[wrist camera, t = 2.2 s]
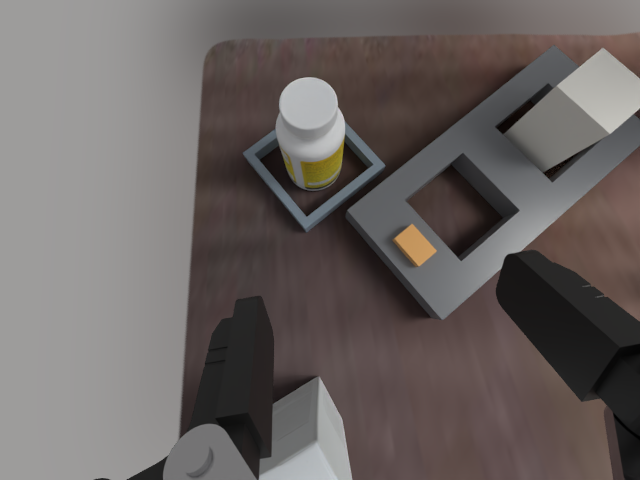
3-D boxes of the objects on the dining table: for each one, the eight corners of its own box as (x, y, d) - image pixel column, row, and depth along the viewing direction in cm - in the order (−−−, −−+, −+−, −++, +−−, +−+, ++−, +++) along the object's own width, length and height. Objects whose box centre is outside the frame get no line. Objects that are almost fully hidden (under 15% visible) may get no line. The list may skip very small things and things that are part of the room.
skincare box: (283, 459, 25) (243, 608, 13) (259, 411, 25) (200, 510, 14) (345, 419, 25) (362, 528, 13) (320, 373, 26) (315, 437, 14)
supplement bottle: (351, 156, 30) (363, 89, 20) (324, 201, 29) (323, 154, 19) (304, 132, 30) (294, 55, 21) (276, 176, 29) (252, 117, 20)
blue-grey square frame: (321, 104, 31) (320, 95, 29) (382, 172, 29) (385, 165, 28) (246, 160, 30) (242, 153, 28) (306, 232, 28) (305, 229, 27)
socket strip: (535, 64, 31) (607, -14, 23) (627, 146, 29) (738, 90, 21) (345, 217, 28) (352, 187, 21) (431, 318, 26) (476, 327, 19)
